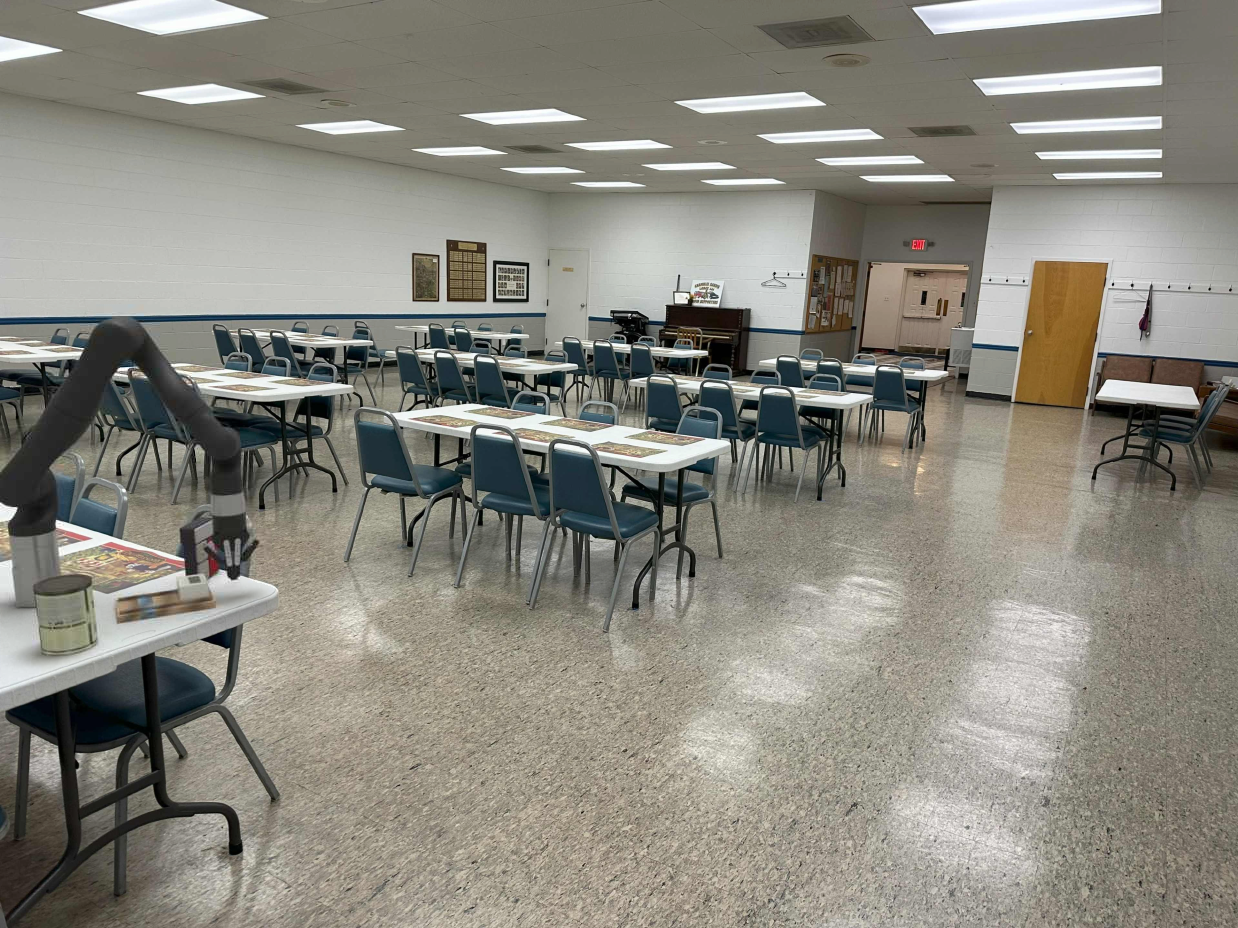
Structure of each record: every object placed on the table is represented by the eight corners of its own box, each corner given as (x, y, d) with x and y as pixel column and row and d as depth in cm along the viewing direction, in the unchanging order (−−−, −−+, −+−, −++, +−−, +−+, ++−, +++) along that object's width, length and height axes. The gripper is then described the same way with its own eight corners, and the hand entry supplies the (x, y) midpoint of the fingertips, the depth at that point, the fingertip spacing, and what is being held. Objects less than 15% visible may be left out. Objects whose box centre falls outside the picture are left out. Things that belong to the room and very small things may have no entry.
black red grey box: (200, 585, 214) (195, 528, 211) (183, 584, 214) (178, 528, 211) (221, 571, 225) (217, 517, 222) (205, 570, 225) (201, 516, 222)
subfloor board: (117, 623, 189) (116, 613, 189) (115, 606, 199) (114, 596, 199) (215, 607, 200) (214, 598, 199) (209, 591, 210) (208, 583, 209)
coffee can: (33, 646, 176) (25, 582, 173) (88, 632, 184) (81, 570, 181) (50, 660, 170) (42, 594, 167) (106, 645, 178) (100, 581, 175)
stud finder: (181, 603, 197) (179, 586, 196) (177, 592, 204) (176, 576, 203) (209, 599, 200) (208, 582, 200) (205, 588, 207) (203, 573, 206)
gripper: (199, 517, 196) (206, 588, 200) (260, 510, 203) (265, 579, 207) (196, 510, 202) (202, 579, 206) (255, 504, 209) (260, 570, 213)
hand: (234, 579), depth 206 cm, fingers closed
